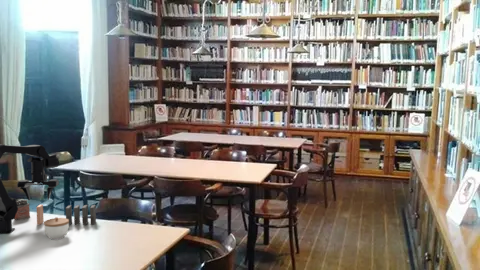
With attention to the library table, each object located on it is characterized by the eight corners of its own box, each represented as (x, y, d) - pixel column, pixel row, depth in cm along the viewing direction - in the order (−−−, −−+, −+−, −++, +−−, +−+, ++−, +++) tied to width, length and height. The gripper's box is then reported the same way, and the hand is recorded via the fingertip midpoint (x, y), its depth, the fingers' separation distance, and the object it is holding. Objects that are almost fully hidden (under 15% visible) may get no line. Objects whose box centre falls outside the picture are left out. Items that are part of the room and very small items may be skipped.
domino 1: (40, 224, 228) (39, 207, 227) (37, 224, 228) (36, 207, 227) (43, 221, 233) (42, 204, 232) (40, 221, 233) (39, 204, 232)
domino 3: (77, 225, 227) (77, 207, 226) (74, 225, 227) (73, 207, 226) (80, 222, 232) (79, 205, 231) (76, 222, 232) (76, 205, 231)
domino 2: (69, 225, 227) (68, 207, 226) (66, 225, 227) (65, 208, 226) (72, 222, 232) (71, 205, 231) (68, 222, 232) (68, 205, 231)
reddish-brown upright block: (28, 216, 242) (27, 198, 241) (31, 217, 240) (30, 199, 239) (13, 219, 236) (12, 201, 235) (16, 220, 234) (15, 202, 233)
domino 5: (93, 224, 228) (93, 207, 227) (90, 224, 228) (90, 207, 227) (95, 221, 233) (95, 204, 232) (92, 222, 233) (92, 205, 232)
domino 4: (85, 225, 228) (85, 207, 227) (82, 225, 227) (82, 207, 227) (88, 222, 233) (87, 205, 232) (84, 222, 232) (84, 205, 232)
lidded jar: (74, 234, 213) (73, 215, 212) (60, 242, 202) (59, 221, 201) (53, 232, 215) (53, 213, 214) (39, 240, 204) (38, 220, 203)
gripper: (61, 166, 237) (61, 196, 239) (23, 167, 235) (24, 196, 236) (55, 170, 226) (56, 200, 228) (16, 171, 224) (17, 201, 225)
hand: (38, 199), depth 230 cm, fingers open, 9 cm apart
